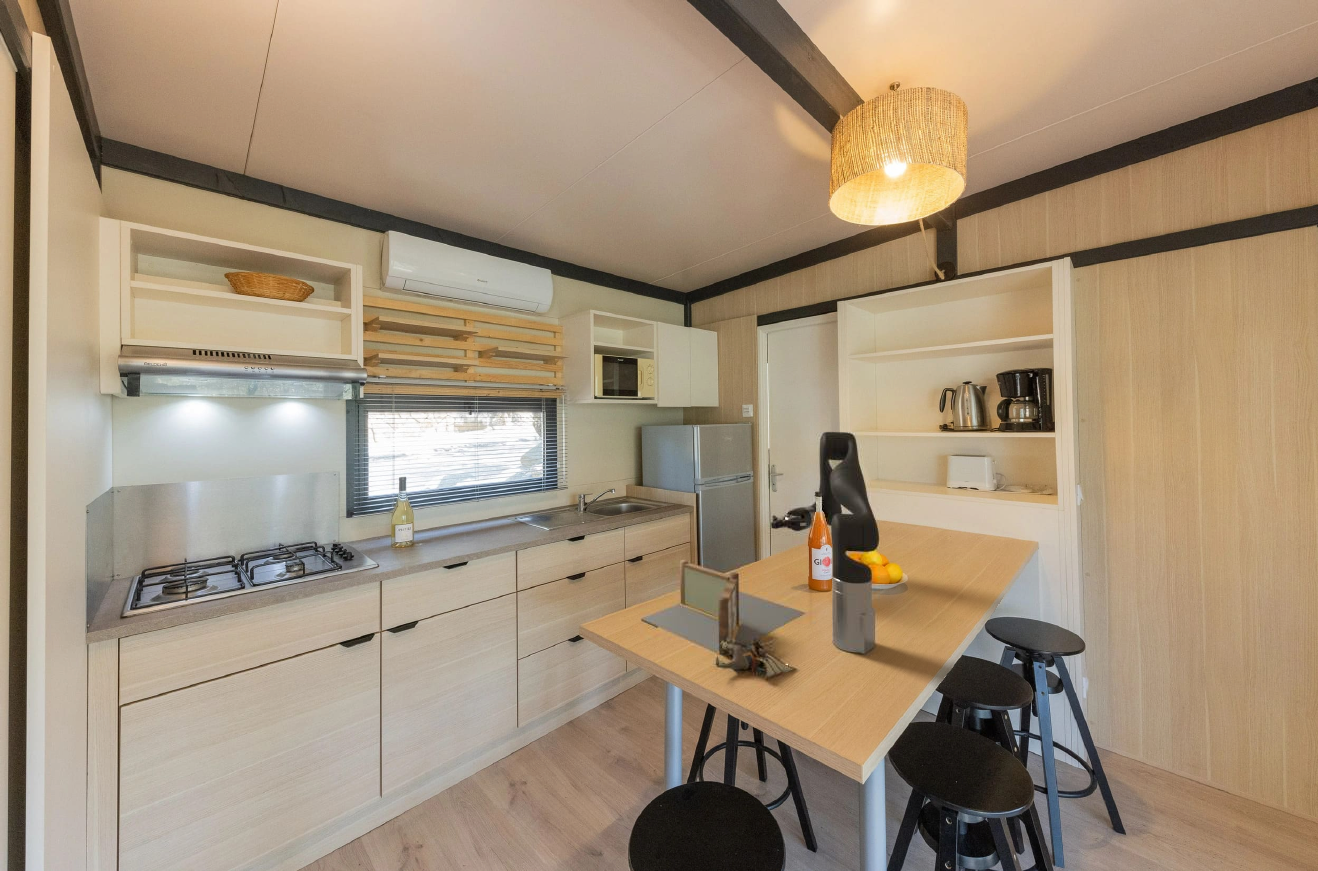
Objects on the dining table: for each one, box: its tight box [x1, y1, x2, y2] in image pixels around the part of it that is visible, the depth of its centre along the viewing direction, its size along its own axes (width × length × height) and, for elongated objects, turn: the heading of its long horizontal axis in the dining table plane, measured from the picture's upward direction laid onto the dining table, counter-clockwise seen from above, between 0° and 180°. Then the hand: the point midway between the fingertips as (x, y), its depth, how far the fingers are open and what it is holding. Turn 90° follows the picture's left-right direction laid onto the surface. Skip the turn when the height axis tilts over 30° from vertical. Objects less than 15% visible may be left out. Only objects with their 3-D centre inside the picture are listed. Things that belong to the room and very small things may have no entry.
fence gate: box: [679, 559, 730, 617], centre depth 143 cm, size 20×2×13 cm, turn 42°
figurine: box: [714, 636, 798, 681], centre depth 111 cm, size 20×6×17 cm
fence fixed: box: [718, 572, 740, 656], centre depth 126 cm, size 20×2×14 cm, turn 162°
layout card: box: [640, 591, 806, 657], centre depth 140 cm, size 31×37×1 cm
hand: (773, 525), depth 153 cm, fingers closed
